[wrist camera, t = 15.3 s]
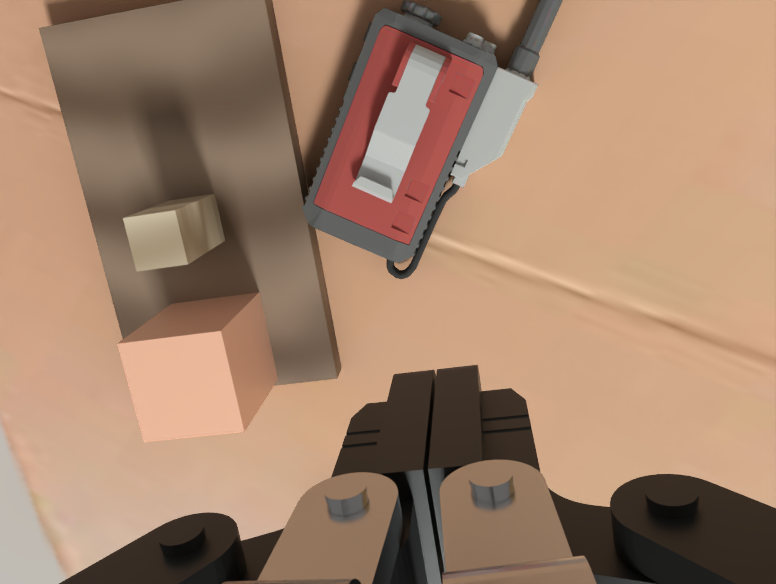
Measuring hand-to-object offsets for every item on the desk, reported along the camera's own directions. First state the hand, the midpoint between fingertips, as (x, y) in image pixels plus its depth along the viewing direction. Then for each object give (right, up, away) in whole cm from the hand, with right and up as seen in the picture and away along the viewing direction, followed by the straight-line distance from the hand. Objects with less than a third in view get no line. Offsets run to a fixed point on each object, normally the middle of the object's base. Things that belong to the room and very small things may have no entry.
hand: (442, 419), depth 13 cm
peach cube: (-10, -1, +28) cm, 30 cm away
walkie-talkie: (+2, +13, +25) cm, 28 cm away
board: (-11, +7, +27) cm, 30 cm away
